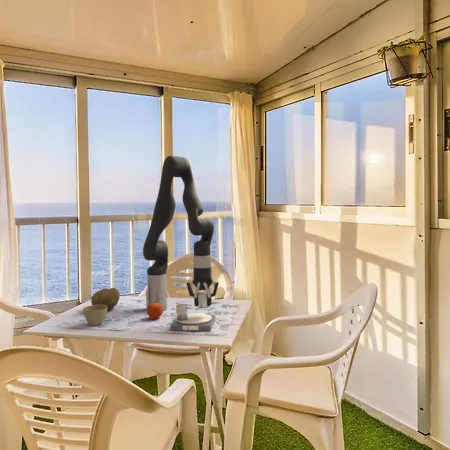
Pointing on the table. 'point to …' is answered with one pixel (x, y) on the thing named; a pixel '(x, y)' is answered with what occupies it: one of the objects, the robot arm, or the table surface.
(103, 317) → the flower pot
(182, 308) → the cylinder
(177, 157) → the robot arm
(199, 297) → the cylinder
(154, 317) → the fruit
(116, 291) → the decorative stone
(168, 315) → the table surface
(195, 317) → the scale
